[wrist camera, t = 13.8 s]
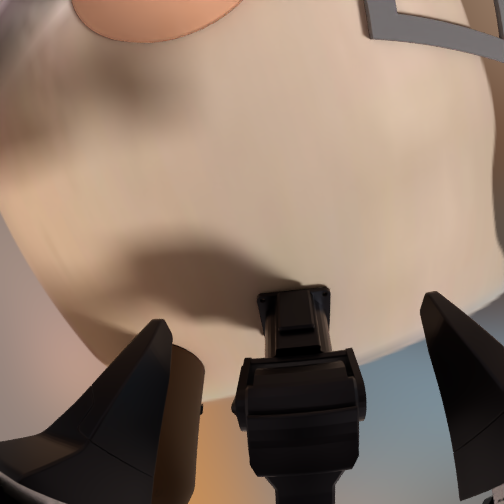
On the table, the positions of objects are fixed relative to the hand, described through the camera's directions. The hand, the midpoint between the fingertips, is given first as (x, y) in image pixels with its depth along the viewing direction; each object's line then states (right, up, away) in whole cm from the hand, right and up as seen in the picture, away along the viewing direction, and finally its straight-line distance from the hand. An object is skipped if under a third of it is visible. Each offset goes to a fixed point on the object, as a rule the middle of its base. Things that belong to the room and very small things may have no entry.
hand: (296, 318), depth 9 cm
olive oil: (-12, -12, +25) cm, 30 cm away
